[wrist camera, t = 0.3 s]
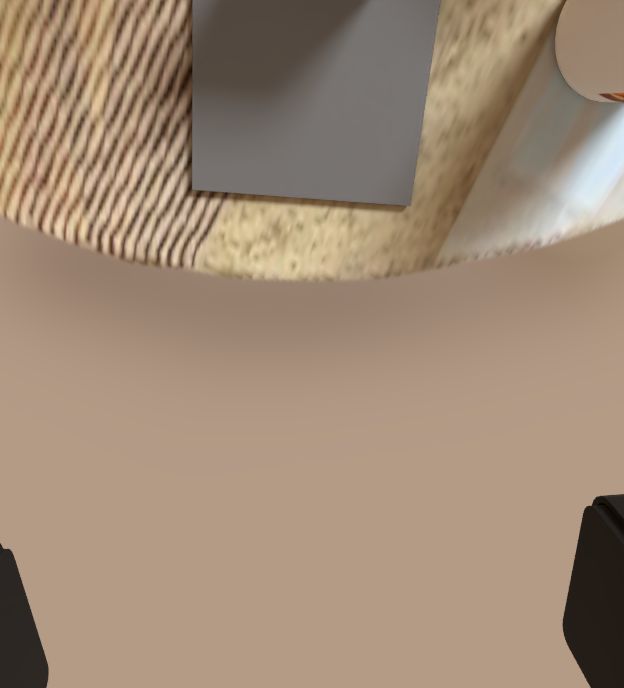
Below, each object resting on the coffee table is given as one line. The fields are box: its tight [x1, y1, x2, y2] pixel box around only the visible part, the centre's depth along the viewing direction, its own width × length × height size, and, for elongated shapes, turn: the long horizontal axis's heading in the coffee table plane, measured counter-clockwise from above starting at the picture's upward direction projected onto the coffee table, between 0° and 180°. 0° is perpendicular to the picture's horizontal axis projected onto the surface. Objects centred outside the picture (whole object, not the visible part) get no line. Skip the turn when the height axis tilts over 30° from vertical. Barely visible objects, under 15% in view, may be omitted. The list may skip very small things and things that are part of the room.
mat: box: [192, 0, 440, 206], centre depth 34 cm, size 16×14×1 cm
